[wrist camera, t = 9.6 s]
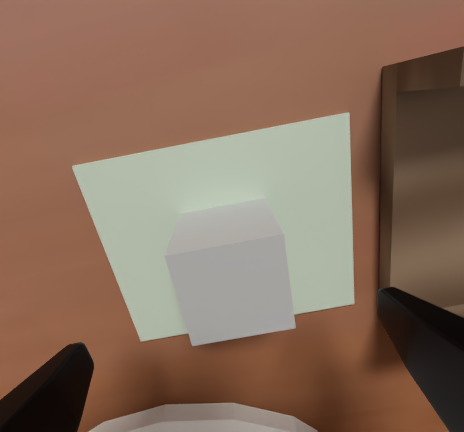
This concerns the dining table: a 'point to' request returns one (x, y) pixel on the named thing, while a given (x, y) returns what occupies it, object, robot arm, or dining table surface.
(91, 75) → the dining table surface
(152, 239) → the cover plate
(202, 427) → the dish
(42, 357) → the dining table surface
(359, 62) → the dining table surface
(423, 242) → the walnut box
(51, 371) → the robot arm
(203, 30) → the dining table surface
